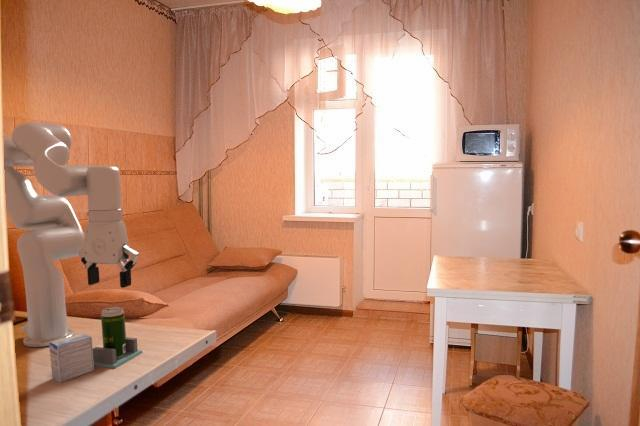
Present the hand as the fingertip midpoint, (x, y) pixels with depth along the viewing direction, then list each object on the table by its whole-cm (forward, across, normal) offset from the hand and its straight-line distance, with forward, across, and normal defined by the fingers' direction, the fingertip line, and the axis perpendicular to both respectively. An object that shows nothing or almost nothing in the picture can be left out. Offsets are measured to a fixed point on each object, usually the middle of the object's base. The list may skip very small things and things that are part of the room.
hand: (109, 285), depth 121 cm
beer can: (+18, +1, 0) cm, 18 cm away
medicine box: (+19, -2, -11) cm, 22 cm away
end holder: (+19, +1, 0) cm, 19 cm away
